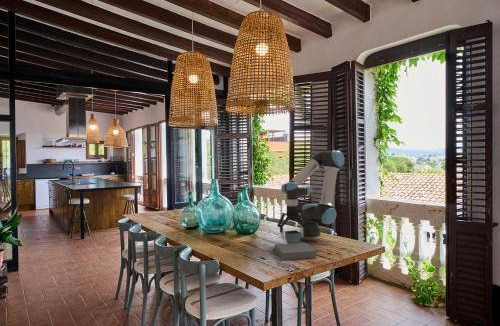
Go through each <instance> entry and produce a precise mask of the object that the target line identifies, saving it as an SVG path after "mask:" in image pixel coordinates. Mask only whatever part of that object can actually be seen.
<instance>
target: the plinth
mask: <svg viewBox="0 0 500 326" xmlns="http://www.w3.org/2000/svg"><path fill="white" fill-rule="evenodd" d="M274 252H275V253H276V254H277V255H278V256H279V257H280V258H281V259H282V261H285V260H289V261H290V260H300V259H316V258H317V250H315V248H313V247H311V246H310V245H309V244H307V243H306V242H300V243H290V244H288V243H275V244H274Z"/></svg>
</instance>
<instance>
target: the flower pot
mask: <svg viewBox="0 0 500 326" xmlns="http://www.w3.org/2000/svg"><path fill="white" fill-rule="evenodd" d="M284 238H285V240H286V241H285V242H286V244H290V243H301V239H302V237H301V233H300V231H298V230H287V231H284Z"/></svg>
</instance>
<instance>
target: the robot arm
mask: <svg viewBox="0 0 500 326" xmlns="http://www.w3.org/2000/svg"><path fill="white" fill-rule="evenodd" d="M344 164H345V156H344V154H343V152H342V151H340V150H335V149H334V150H322V151H320V152H318V153H315V154H314V155H313V156H312V157H311V158H310V159H309V160H308V163H307V164H305V166H304V167H303V168H301V169H300V171H299V172H298V173H297V174H296V175H295V176H294V177H293V178H292V179H290V181H288V182H287V183H283V184H282V185H281V187H280V188H281V189H280V190H281V192H282V193H283V195H286V213H285V212H281V217H280V219H279V221H278V223H277V224H276V227H278V228H279V232H280V235H281V236H280V237H281V239H284V238H285V232H284V230H285V229H284V226H285V225H286V224H287V223H288V221H291V220H293V221H294V220H296V221H297V222H298V223H299V225H300V231H299V232H300V233H301V238H304V237H308V238H309V237H320V236H321V235H322V234H321V229H320V226H319V223H321V224H323V225H324V224H325V225H330V224H333V223H334V222H335V220H336V218H337V211H336V209H335V206H334V204H333V201H334V195H335V188H336V181H337V177H338V176H337V175H338V172H339V171H340V170H341V169H340V168H341V167H342V166H344ZM322 167H323V168H324V177H323V182H322V183H323V185H322V190H321V197H320V201H319V202H318V204H317V203H309V204H303V205H302V207H301V208H302V209H301V212H299V206H298V205H299V197H304V196H305V197H306V196H309V195H310V194H311V193H312V188H311V186H310V185H309V184H303V183H304V182H305V181H307V180H308V179H309V177H310V176H311V175H313V173H314V172H315V171H316V170H319V169H320V168H322ZM298 216H300V218H299V217H298ZM285 217H286V218H285ZM300 219H301V220H300Z"/></svg>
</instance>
